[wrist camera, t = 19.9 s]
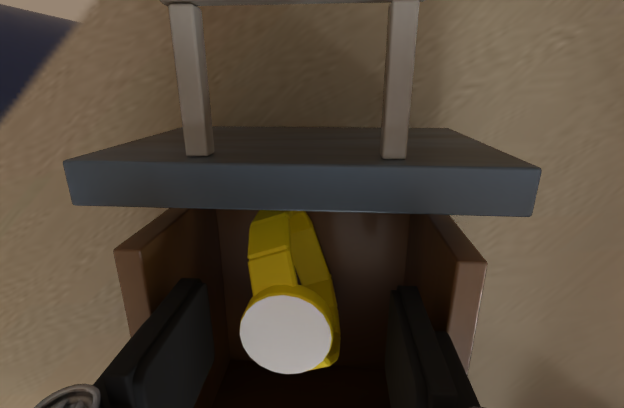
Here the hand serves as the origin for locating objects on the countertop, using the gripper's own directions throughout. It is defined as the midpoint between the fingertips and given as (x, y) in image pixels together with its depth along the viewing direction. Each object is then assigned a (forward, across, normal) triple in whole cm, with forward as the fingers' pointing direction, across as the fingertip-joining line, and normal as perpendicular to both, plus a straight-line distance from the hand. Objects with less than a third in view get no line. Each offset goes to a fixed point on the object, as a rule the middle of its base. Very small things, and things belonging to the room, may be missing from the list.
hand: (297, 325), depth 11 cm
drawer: (+6, 0, -1) cm, 6 cm away
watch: (+5, 0, 0) cm, 5 cm away
